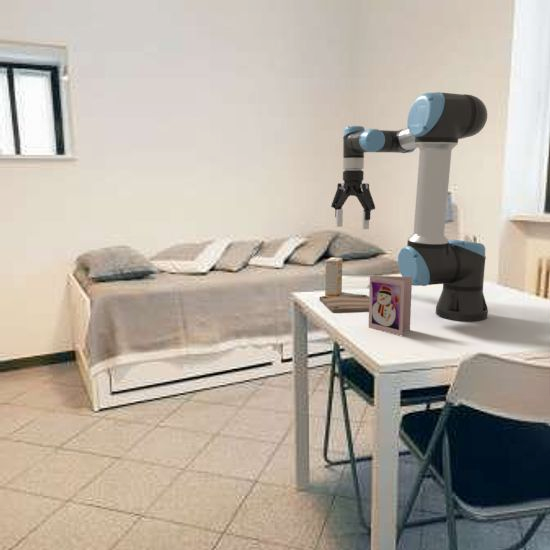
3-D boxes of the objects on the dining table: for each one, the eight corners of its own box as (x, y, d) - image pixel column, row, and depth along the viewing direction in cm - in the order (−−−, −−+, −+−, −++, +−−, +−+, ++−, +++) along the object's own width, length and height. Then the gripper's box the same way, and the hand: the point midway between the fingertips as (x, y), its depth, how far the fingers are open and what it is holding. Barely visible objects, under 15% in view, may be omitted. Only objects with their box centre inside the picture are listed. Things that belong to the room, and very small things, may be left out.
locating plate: (383, 310, 170) (383, 305, 169) (332, 312, 167) (332, 307, 167) (366, 298, 187) (366, 294, 187) (319, 300, 185) (319, 295, 185)
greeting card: (366, 328, 150) (367, 276, 147) (382, 323, 155) (384, 272, 152) (400, 336, 141) (402, 281, 139) (416, 331, 146) (418, 278, 143)
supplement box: (337, 296, 191) (338, 260, 188) (324, 295, 192) (325, 260, 190) (342, 291, 198) (342, 257, 196) (329, 291, 200) (330, 256, 197)
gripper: (386, 169, 186) (384, 229, 190) (336, 170, 206) (336, 225, 210) (371, 169, 182) (370, 230, 186) (322, 170, 201) (322, 226, 205)
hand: (352, 227), depth 198 cm, fingers open, 13 cm apart
